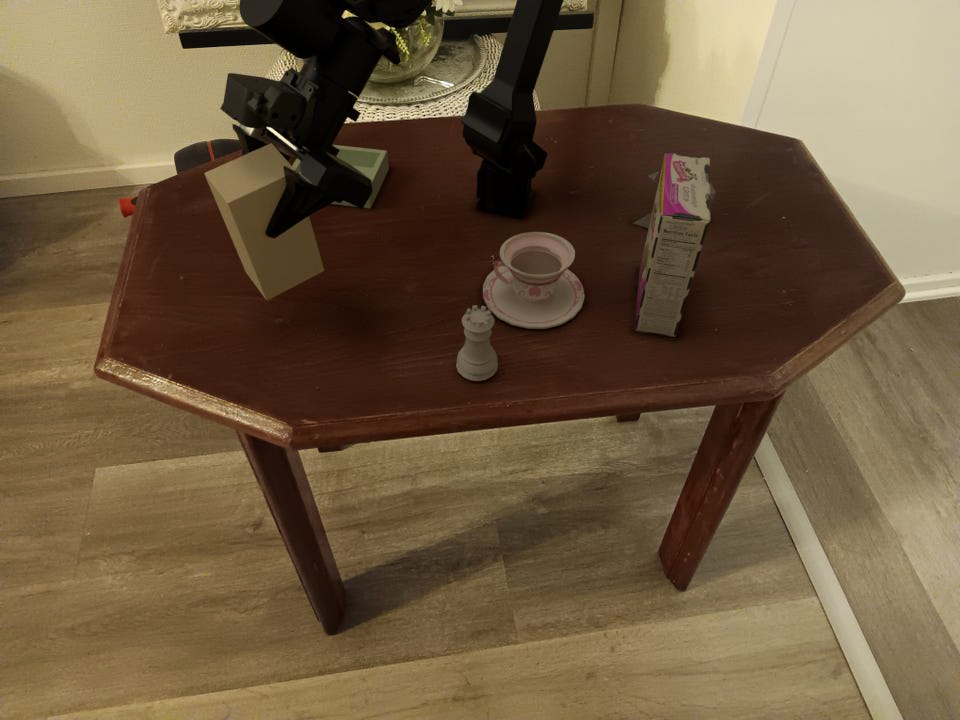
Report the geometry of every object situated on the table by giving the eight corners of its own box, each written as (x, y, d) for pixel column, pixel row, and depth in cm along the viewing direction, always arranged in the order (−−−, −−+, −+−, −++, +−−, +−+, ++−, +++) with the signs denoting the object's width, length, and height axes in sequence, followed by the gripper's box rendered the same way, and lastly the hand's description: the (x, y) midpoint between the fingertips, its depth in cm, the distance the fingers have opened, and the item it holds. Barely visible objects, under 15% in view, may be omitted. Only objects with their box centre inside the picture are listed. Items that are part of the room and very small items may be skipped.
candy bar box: (636, 269, 88) (664, 150, 76) (678, 275, 87) (712, 156, 75) (631, 333, 81) (660, 212, 69) (676, 339, 80) (713, 219, 68)
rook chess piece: (454, 353, 78) (454, 299, 72) (495, 351, 78) (498, 297, 72) (457, 384, 75) (457, 331, 69) (500, 382, 75) (503, 328, 69)
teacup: (569, 257, 89) (575, 216, 85) (596, 324, 81) (604, 283, 77) (474, 267, 88) (474, 226, 83) (492, 336, 80) (494, 295, 75)
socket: (388, 169, 102) (387, 150, 100) (370, 208, 96) (368, 189, 93) (310, 160, 103) (306, 141, 101) (287, 199, 97) (283, 179, 95)
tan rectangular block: (302, 243, 81) (271, 142, 69) (324, 270, 78) (296, 171, 67) (245, 272, 78) (203, 172, 67) (266, 301, 76) (227, 203, 64)
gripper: (213, 3, 66) (139, 152, 69) (326, 77, 57) (233, 246, 60) (302, 61, 75) (233, 190, 79) (411, 133, 66) (327, 276, 69)
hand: (253, 222), depth 71 cm, fingers closed on tan rectangular block, 6 cm apart
